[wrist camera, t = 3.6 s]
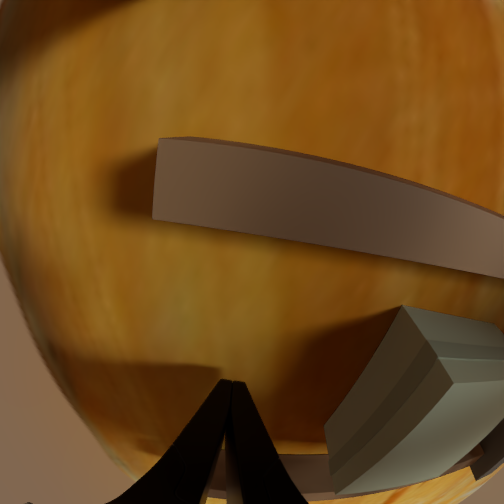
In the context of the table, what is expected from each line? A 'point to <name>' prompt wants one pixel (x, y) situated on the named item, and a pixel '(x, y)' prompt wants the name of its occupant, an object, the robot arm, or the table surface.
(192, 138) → the bay
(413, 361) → the block
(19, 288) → the table surface
